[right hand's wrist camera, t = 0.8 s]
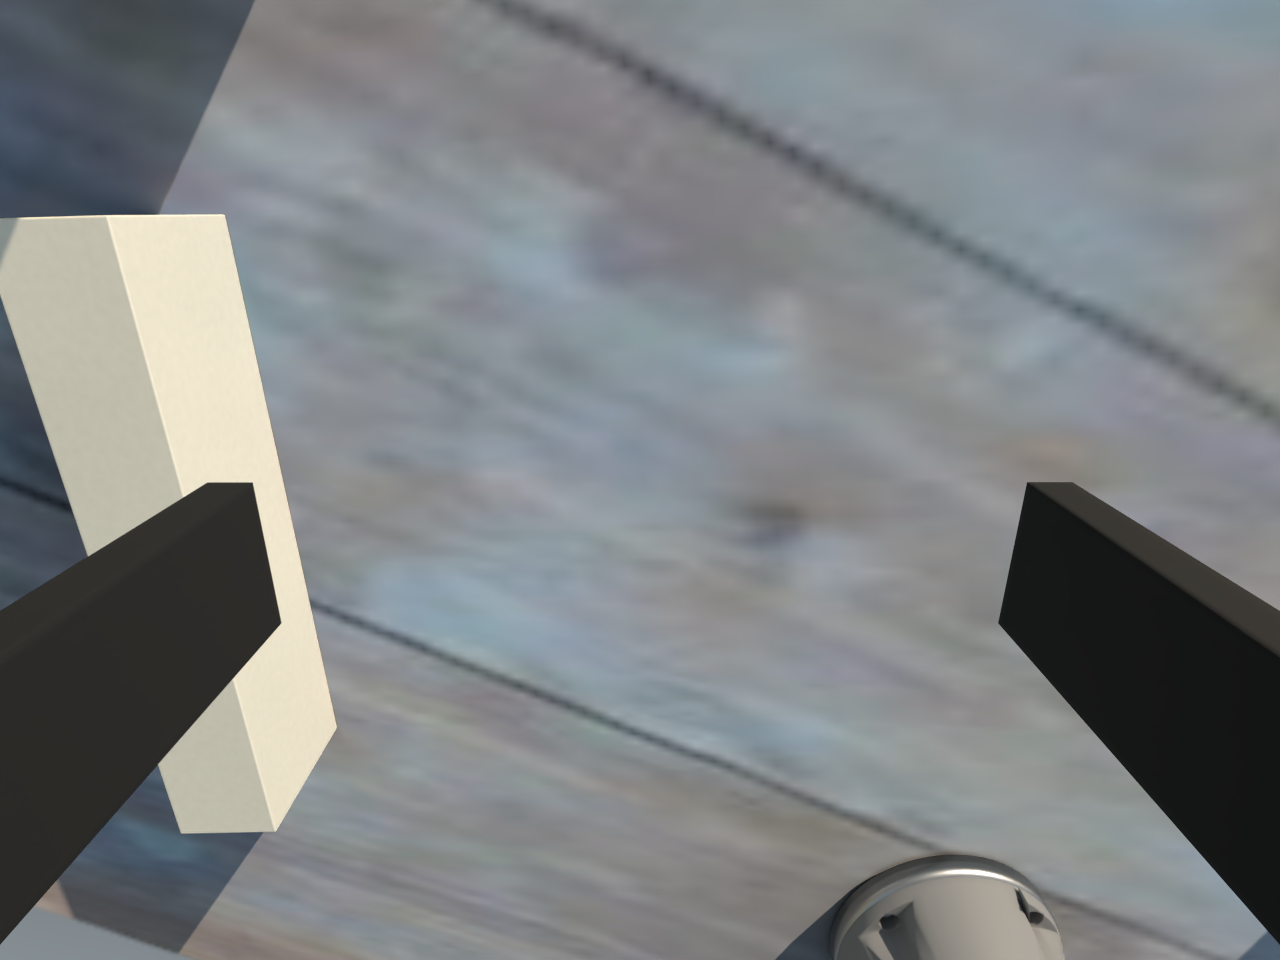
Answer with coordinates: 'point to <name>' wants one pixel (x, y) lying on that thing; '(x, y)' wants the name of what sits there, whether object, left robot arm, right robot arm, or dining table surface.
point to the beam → (172, 463)
